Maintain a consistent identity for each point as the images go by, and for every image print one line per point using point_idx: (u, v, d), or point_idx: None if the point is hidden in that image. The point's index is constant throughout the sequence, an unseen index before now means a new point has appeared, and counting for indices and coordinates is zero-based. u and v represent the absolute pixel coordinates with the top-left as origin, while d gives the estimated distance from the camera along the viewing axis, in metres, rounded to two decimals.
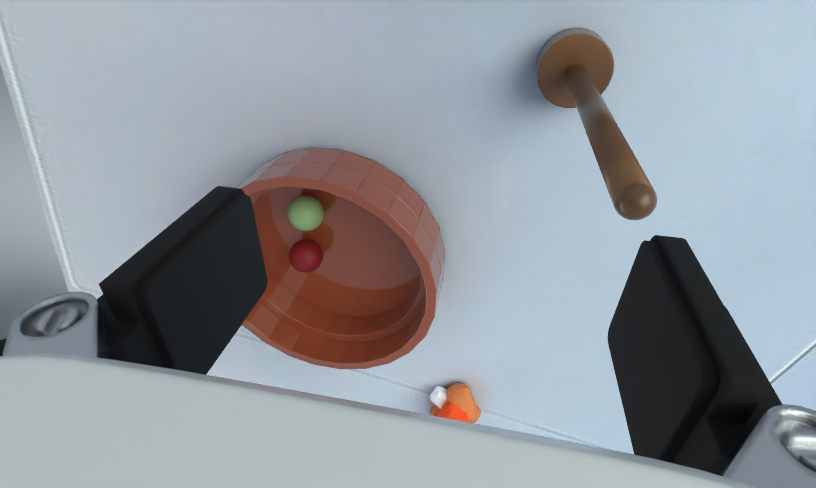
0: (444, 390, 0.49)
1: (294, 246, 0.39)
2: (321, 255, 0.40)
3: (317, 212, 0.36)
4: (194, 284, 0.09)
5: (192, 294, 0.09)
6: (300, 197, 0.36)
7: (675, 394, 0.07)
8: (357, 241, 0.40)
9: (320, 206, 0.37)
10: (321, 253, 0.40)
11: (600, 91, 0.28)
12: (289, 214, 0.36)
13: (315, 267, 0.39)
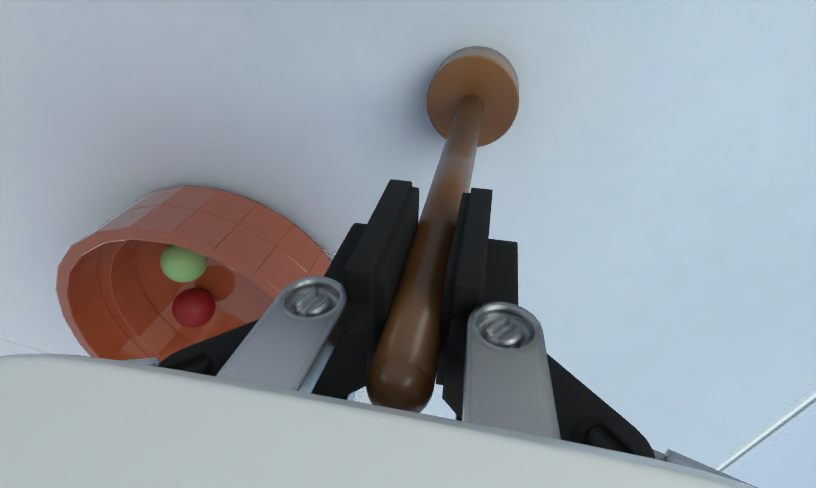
0: None
1: (177, 298, 0.33)
2: (211, 307, 0.34)
3: (194, 261, 0.30)
4: (397, 271, 0.09)
5: (396, 280, 0.09)
6: None
7: None
8: (254, 290, 0.34)
9: (200, 254, 0.31)
10: (211, 305, 0.34)
11: (505, 127, 0.22)
12: (161, 264, 0.30)
13: (203, 322, 0.33)
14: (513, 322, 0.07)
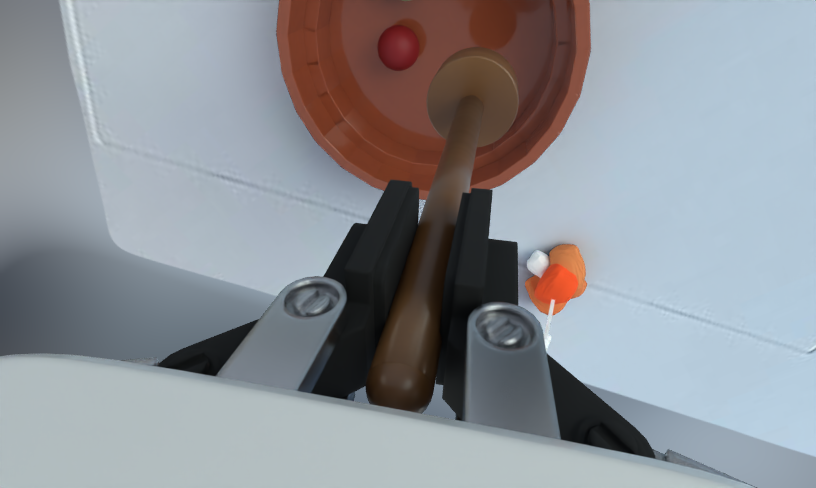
0: (545, 254, 0.40)
1: (386, 30, 0.31)
2: None
3: None
4: (397, 271, 0.09)
5: (396, 281, 0.09)
6: None
7: None
8: (464, 29, 0.31)
9: None
10: (418, 43, 0.31)
11: (505, 128, 0.22)
12: None
13: (411, 59, 0.31)
14: (513, 322, 0.07)
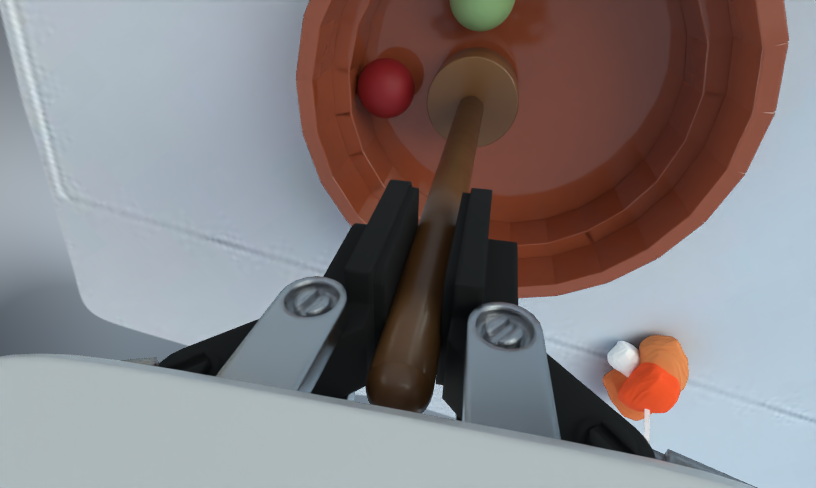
0: (633, 347, 0.31)
1: None
2: (358, 85, 0.23)
3: None
4: (397, 271, 0.09)
5: (396, 281, 0.09)
6: None
7: None
8: (554, 68, 0.23)
9: None
10: (359, 83, 0.23)
11: (505, 128, 0.22)
12: None
13: None
14: (513, 322, 0.07)
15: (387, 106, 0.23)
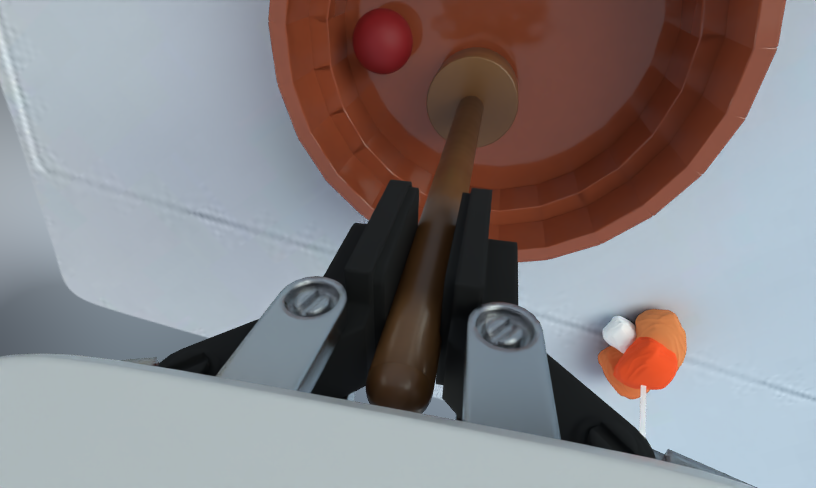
0: (628, 322, 0.30)
1: None
2: (360, 40, 0.21)
3: None
4: (397, 271, 0.09)
5: (396, 280, 0.09)
6: None
7: None
8: (544, 18, 0.21)
9: None
10: (362, 37, 0.21)
11: (505, 128, 0.22)
12: None
13: (355, 54, 0.22)
14: (513, 322, 0.07)
15: (398, 58, 0.21)
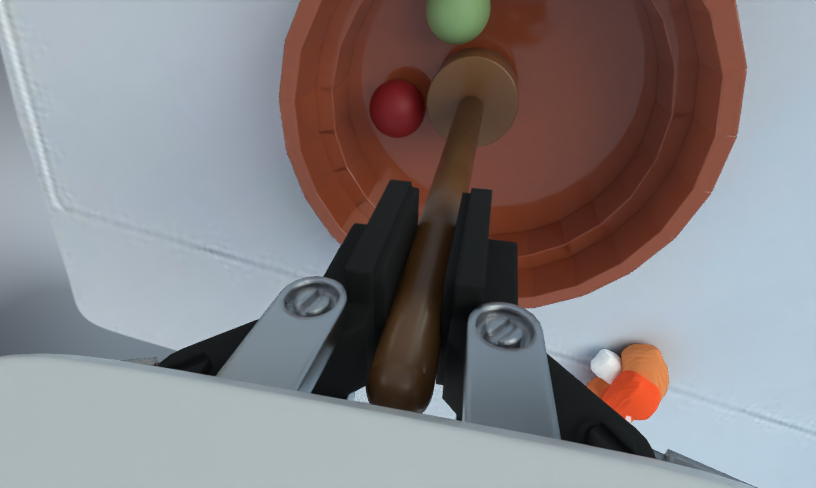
0: (615, 355, 0.32)
1: None
2: (389, 112, 0.23)
3: None
4: (397, 271, 0.09)
5: (396, 280, 0.09)
6: None
7: None
8: (531, 87, 0.23)
9: None
10: (392, 110, 0.22)
11: (505, 128, 0.22)
12: None
13: (376, 124, 0.23)
14: (513, 322, 0.07)
15: (420, 122, 0.24)
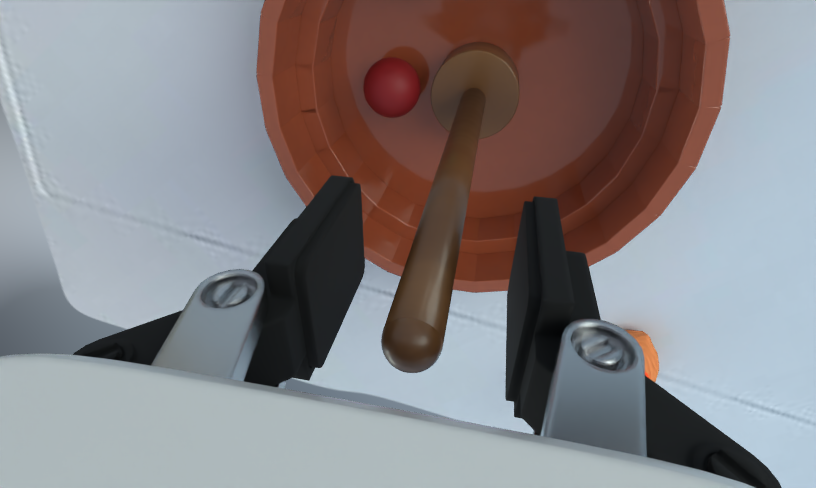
0: None
1: None
2: (396, 90, 0.22)
3: None
4: (328, 265, 0.10)
5: (327, 274, 0.10)
6: None
7: (520, 320, 0.08)
8: (516, 64, 0.23)
9: None
10: (399, 88, 0.22)
11: (506, 120, 0.22)
12: None
13: (379, 105, 0.23)
14: (612, 343, 0.07)
15: (418, 98, 0.24)
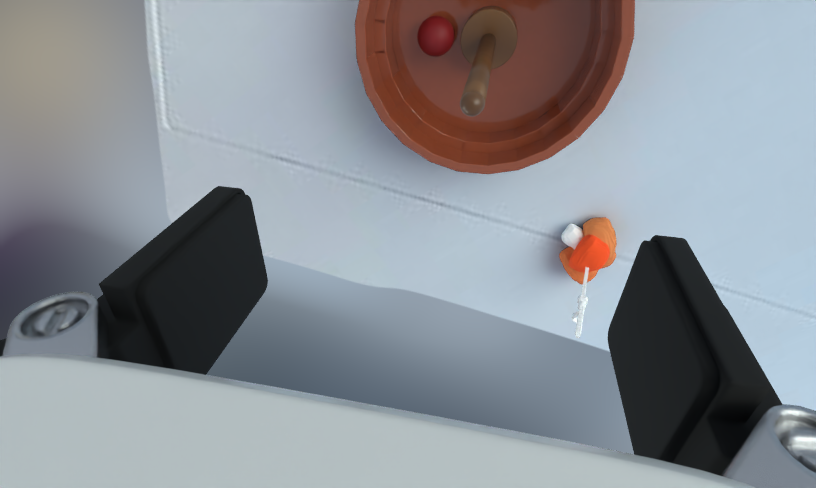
0: (578, 227, 0.44)
1: None
2: (441, 36, 0.35)
3: None
4: (194, 284, 0.09)
5: (192, 294, 0.09)
6: None
7: (675, 394, 0.07)
8: (515, 20, 0.36)
9: None
10: (443, 34, 0.35)
11: (509, 55, 0.35)
12: None
13: (430, 46, 0.35)
14: None
15: None
